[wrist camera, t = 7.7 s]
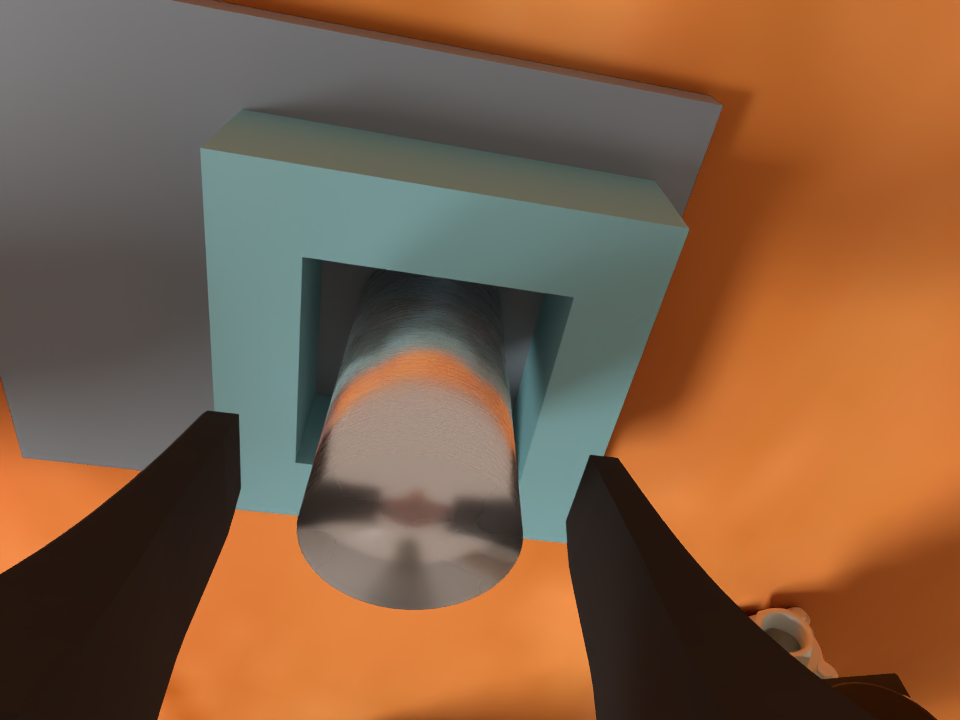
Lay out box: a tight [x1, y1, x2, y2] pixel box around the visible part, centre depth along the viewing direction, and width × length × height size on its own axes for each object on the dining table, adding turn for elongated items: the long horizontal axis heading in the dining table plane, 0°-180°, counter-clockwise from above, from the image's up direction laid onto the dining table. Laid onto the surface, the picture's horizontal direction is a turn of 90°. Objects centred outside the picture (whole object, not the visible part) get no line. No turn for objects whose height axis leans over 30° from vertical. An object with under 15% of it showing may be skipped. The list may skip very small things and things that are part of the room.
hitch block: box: [0, 0, 723, 543], centre depth 17 cm, size 18×14×4 cm
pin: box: [297, 268, 523, 610], centre depth 15 cm, size 4×4×8 cm
